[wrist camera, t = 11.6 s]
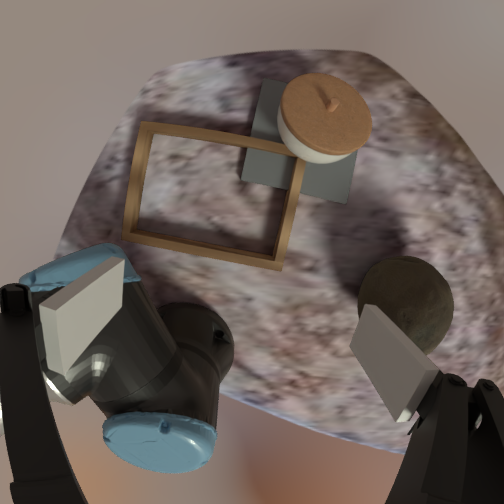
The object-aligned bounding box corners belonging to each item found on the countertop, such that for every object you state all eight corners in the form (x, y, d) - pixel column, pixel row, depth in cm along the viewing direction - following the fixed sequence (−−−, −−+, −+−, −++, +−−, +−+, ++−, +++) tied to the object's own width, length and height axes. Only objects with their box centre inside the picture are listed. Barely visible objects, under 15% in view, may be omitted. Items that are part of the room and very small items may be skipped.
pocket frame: (278, 265, 42) (281, 271, 39) (128, 235, 40) (121, 239, 37) (303, 152, 39) (308, 150, 36) (147, 124, 37) (141, 120, 34)
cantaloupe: (325, 304, 44) (359, 356, 29) (377, 229, 41) (434, 252, 27) (383, 340, 46) (423, 390, 32) (430, 275, 44) (485, 307, 29)
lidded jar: (328, 191, 35) (362, 166, 26) (254, 148, 35) (266, 109, 25) (356, 131, 37) (388, 99, 28) (290, 92, 36) (309, 50, 27)
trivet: (343, 204, 40) (346, 204, 39) (240, 180, 39) (240, 180, 38) (361, 108, 37) (364, 106, 36) (262, 80, 36) (263, 77, 35)
